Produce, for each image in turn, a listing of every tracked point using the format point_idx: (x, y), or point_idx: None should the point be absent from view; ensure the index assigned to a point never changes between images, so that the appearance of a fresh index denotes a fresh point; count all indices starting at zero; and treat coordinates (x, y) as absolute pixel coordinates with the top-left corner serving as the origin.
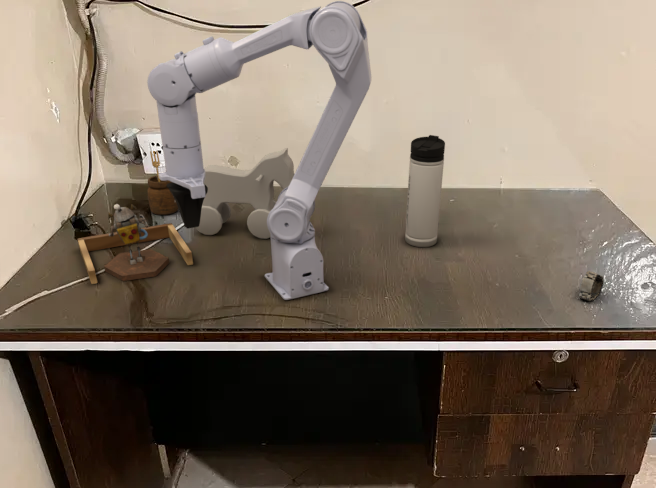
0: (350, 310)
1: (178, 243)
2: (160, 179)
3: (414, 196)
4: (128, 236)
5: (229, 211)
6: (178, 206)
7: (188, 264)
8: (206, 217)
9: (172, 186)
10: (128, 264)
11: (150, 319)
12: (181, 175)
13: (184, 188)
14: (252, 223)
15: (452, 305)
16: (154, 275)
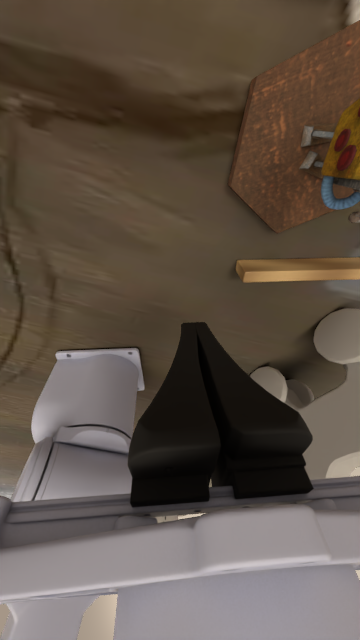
0: (24, 393)
1: (306, 268)
2: (226, 520)
3: (152, 517)
4: (349, 129)
5: (344, 367)
6: (211, 364)
7: (237, 262)
8: (345, 339)
9: (248, 445)
10: (312, 120)
11: (11, 110)
12: (121, 614)
13: (156, 481)
14: (273, 382)
15: (27, 445)
16: (228, 181)
